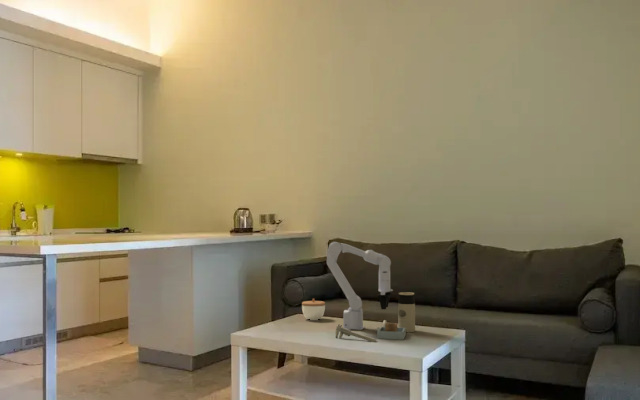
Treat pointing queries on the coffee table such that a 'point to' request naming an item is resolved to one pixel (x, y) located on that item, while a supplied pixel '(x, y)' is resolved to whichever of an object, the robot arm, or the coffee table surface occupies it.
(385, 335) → the tray
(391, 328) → the block
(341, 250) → the robot arm
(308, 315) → the lidded bowl
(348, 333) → the caliper
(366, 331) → the coffee table surface
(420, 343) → the coffee table surface
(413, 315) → the travel mug
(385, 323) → the grey peg base
